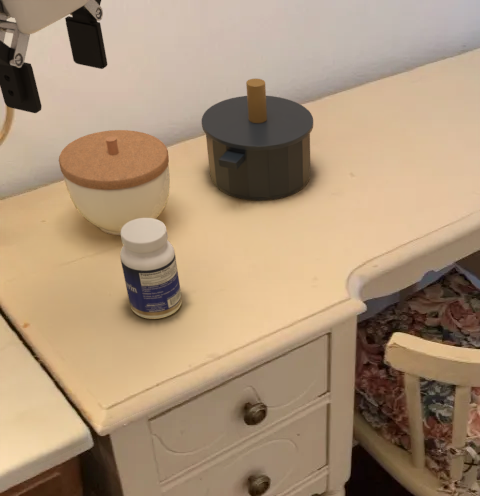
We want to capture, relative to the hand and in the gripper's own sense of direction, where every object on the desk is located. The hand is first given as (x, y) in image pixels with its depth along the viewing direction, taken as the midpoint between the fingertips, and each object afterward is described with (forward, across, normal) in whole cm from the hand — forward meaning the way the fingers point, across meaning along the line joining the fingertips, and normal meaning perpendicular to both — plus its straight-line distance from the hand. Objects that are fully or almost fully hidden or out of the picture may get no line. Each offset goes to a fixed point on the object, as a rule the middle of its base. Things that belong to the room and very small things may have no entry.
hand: (59, 86), depth 73 cm
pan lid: (+19, -36, +1) cm, 40 cm away
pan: (+27, -36, +1) cm, 44 cm away
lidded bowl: (+27, -18, -10) cm, 34 cm away
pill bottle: (+27, -5, +3) cm, 27 cm away
